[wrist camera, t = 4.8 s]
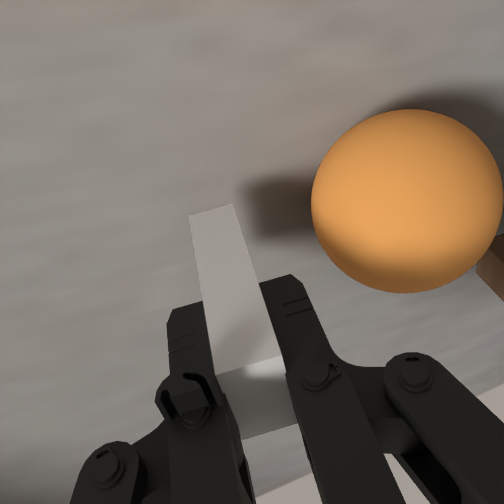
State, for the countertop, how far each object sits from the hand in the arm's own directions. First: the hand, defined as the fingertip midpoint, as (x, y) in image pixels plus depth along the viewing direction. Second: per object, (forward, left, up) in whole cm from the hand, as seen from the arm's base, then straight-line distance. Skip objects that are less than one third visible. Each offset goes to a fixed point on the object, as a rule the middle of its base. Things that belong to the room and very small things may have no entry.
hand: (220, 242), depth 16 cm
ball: (+6, 0, +1) cm, 6 cm away
